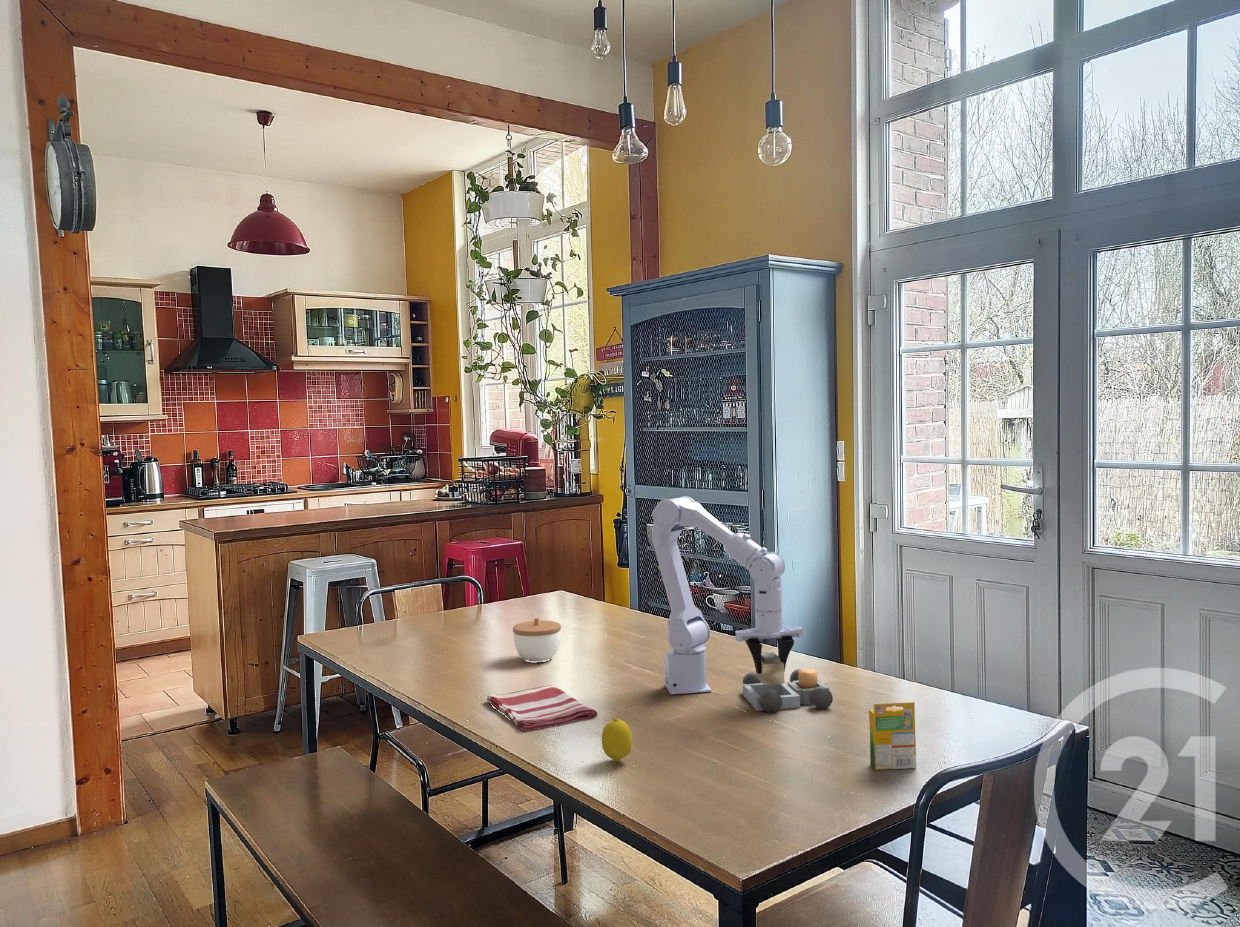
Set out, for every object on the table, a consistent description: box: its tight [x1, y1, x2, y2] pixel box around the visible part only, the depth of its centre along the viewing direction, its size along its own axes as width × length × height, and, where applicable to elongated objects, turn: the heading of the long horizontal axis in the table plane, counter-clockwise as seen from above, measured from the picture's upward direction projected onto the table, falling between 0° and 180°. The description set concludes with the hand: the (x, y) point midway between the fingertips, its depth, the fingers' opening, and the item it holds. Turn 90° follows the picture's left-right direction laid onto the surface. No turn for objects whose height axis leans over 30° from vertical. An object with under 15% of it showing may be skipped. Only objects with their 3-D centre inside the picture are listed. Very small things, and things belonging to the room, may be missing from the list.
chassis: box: [742, 668, 834, 714], centre depth 189 cm, size 17×15×4 cm
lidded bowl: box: [512, 617, 562, 661], centre depth 229 cm, size 13×13×11 cm
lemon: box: [601, 717, 633, 763], centre depth 157 cm, size 6×6×8 cm
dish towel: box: [486, 684, 598, 732], centre depth 189 cm, size 17×23×3 cm
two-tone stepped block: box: [755, 651, 785, 685], centre depth 189 cm, size 4×6×6 cm
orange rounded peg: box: [799, 668, 818, 689], centre depth 190 cm, size 4×4×4 cm
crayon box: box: [868, 701, 917, 771], centre depth 151 cm, size 7×3×12 cm, turn 92°
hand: (770, 671), depth 189 cm, fingers closed on two-tone stepped block, 4 cm apart
